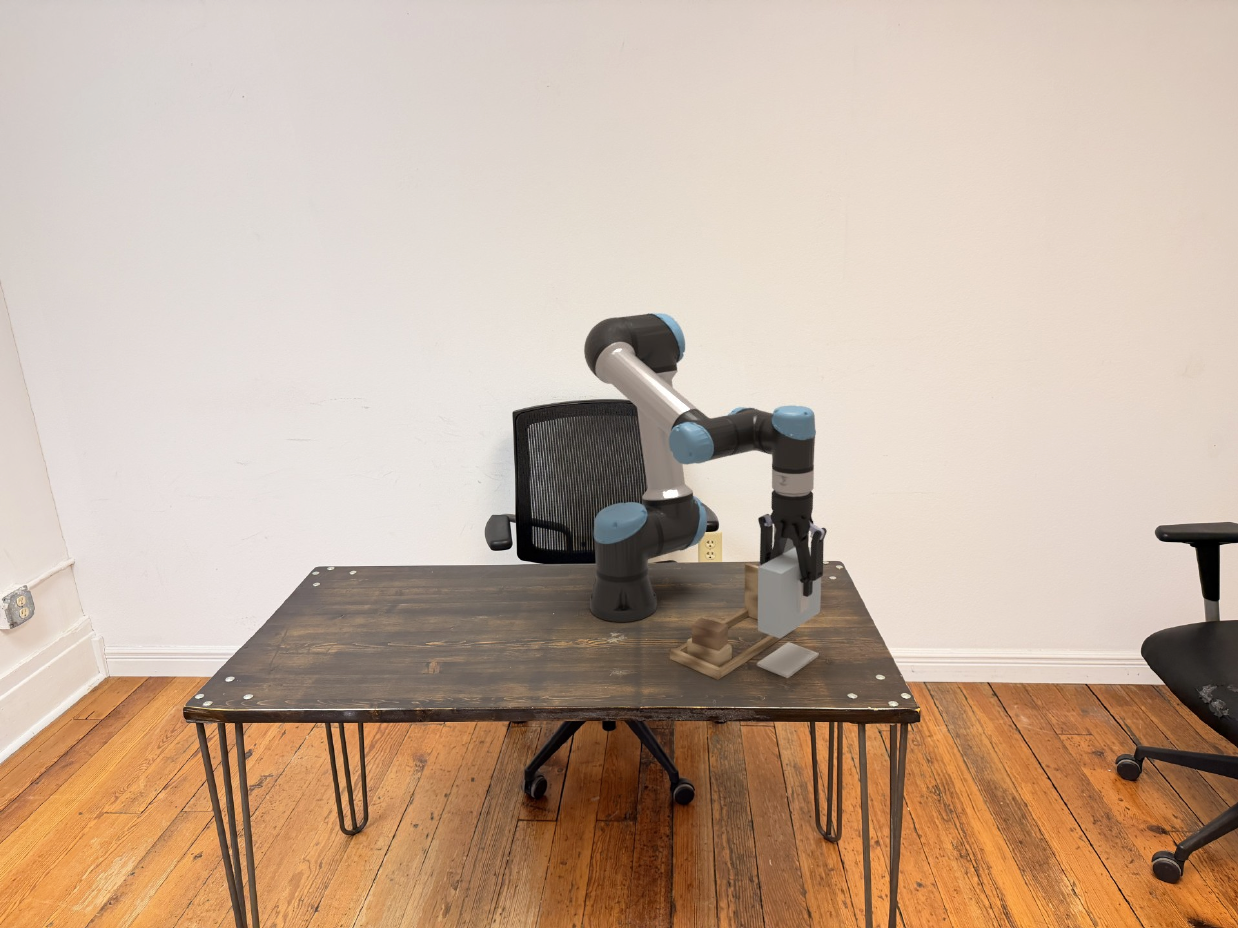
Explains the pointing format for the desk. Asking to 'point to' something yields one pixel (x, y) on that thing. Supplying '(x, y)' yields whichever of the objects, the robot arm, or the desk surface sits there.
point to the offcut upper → (709, 634)
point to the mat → (787, 659)
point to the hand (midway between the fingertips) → (789, 605)
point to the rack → (750, 610)
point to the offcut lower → (710, 653)
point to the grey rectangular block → (783, 595)
